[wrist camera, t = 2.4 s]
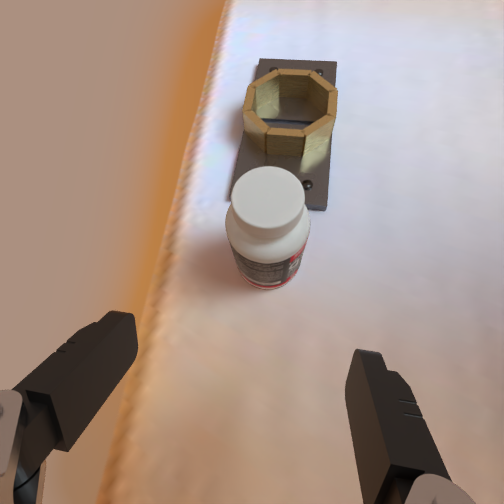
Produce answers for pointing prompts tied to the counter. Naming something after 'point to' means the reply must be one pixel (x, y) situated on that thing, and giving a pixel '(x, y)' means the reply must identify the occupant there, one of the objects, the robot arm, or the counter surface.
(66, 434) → the robot arm
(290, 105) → the octagonal bottle holder
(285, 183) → the pill bottle
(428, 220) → the counter surface
